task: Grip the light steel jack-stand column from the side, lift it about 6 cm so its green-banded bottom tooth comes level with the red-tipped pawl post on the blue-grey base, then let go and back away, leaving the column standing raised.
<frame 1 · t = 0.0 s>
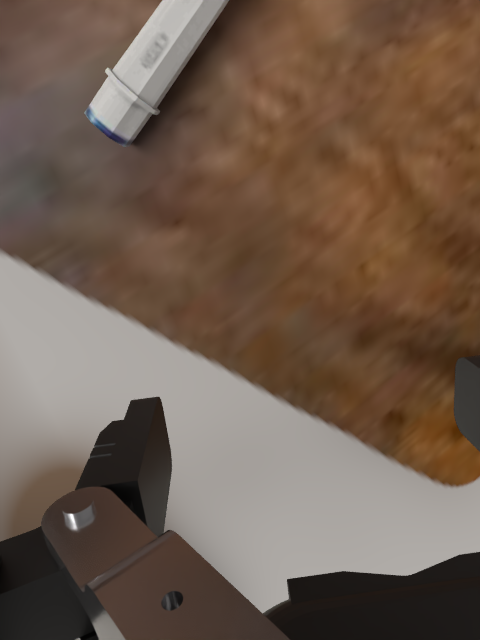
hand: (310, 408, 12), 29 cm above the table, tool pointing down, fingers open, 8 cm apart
toothbrush head: (209, 1, 35), on the table
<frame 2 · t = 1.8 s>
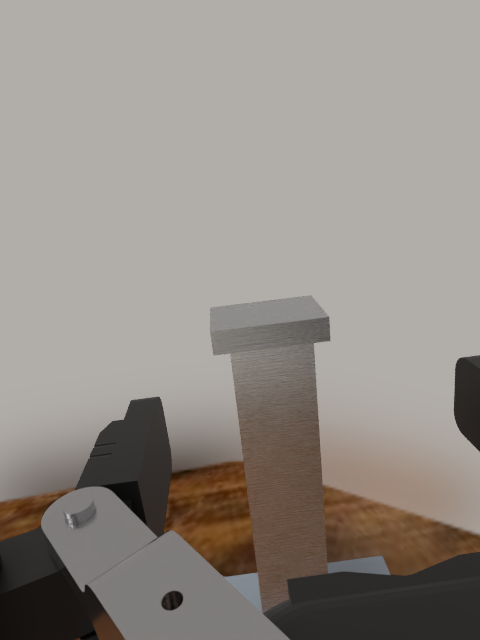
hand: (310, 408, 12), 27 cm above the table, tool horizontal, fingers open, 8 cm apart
column: (281, 494, 27), point 15 cm above the table, slide at 0.0 cm
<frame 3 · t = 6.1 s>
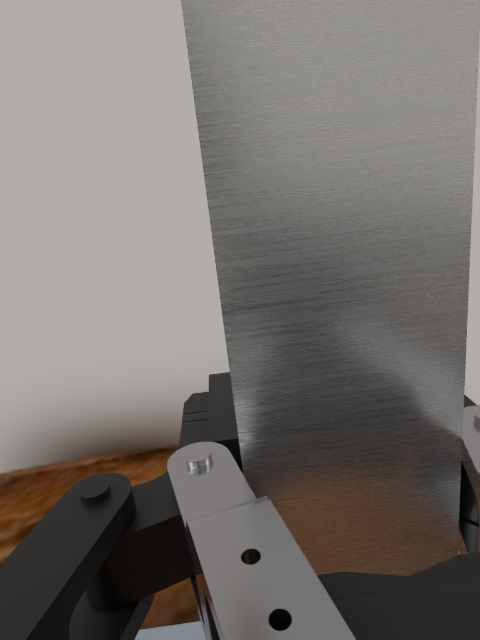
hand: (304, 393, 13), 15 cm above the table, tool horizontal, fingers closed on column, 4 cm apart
column: (325, 448, 11), point 15 cm above the table, slide at 0.0 cm, touching gripper
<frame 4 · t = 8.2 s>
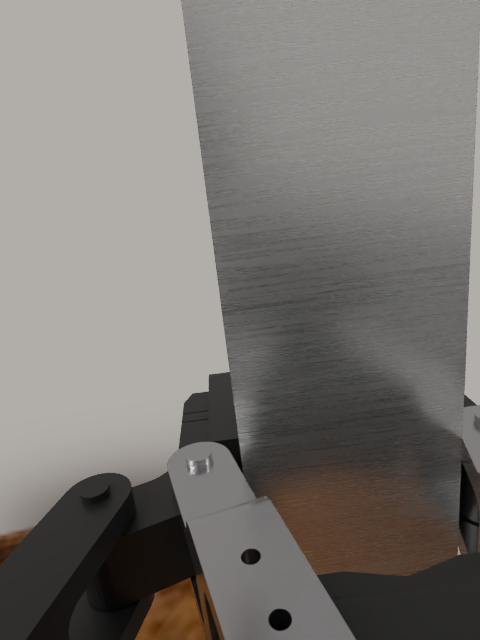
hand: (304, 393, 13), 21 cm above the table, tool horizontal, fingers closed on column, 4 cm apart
column: (325, 448, 11), point 21 cm above the table, slide at 5.9 cm, touching gripper
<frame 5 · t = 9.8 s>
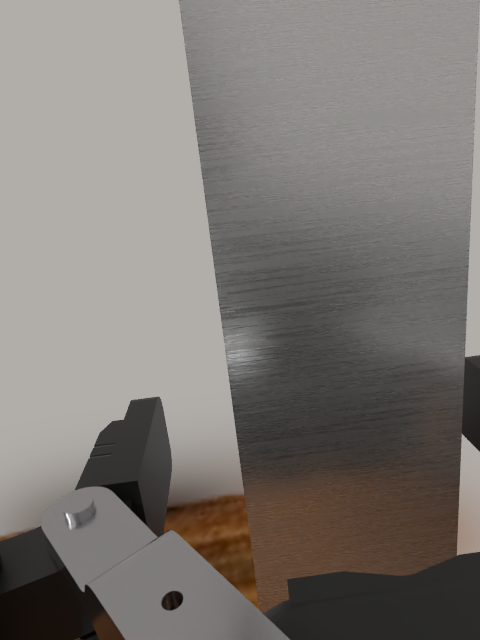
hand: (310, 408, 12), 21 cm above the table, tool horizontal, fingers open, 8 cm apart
column: (324, 451, 11), point 21 cm above the table, slide at 6.0 cm
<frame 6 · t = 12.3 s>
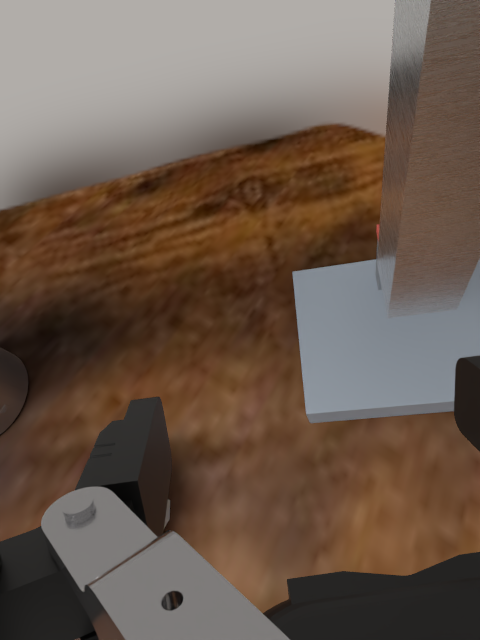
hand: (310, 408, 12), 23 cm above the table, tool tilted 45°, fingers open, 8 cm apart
stand base: (402, 339, 36), on the table
column: (444, 138, 18), point 21 cm above the table, slide at 6.0 cm
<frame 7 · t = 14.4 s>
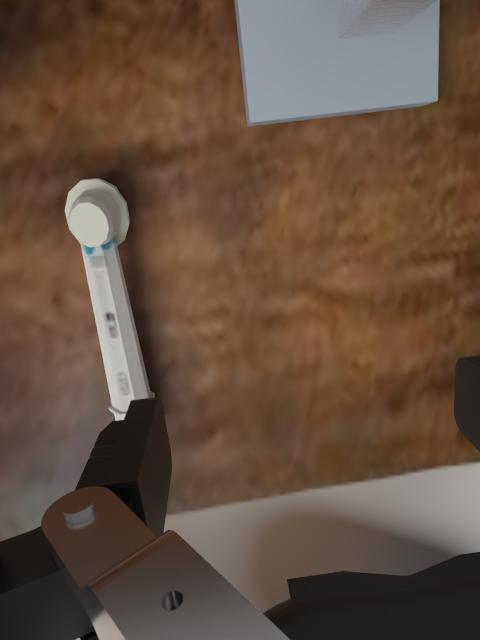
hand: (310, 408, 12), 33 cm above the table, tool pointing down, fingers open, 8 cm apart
stand base: (331, 41, 39), on the table
toothbrush head: (122, 310, 46), on the table
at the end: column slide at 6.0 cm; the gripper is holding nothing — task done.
